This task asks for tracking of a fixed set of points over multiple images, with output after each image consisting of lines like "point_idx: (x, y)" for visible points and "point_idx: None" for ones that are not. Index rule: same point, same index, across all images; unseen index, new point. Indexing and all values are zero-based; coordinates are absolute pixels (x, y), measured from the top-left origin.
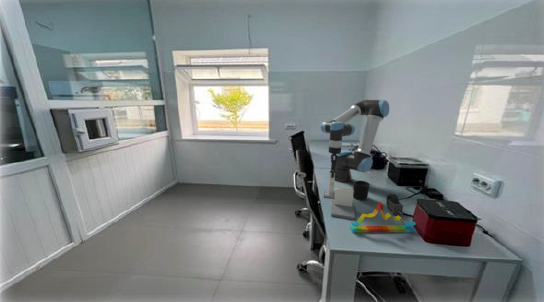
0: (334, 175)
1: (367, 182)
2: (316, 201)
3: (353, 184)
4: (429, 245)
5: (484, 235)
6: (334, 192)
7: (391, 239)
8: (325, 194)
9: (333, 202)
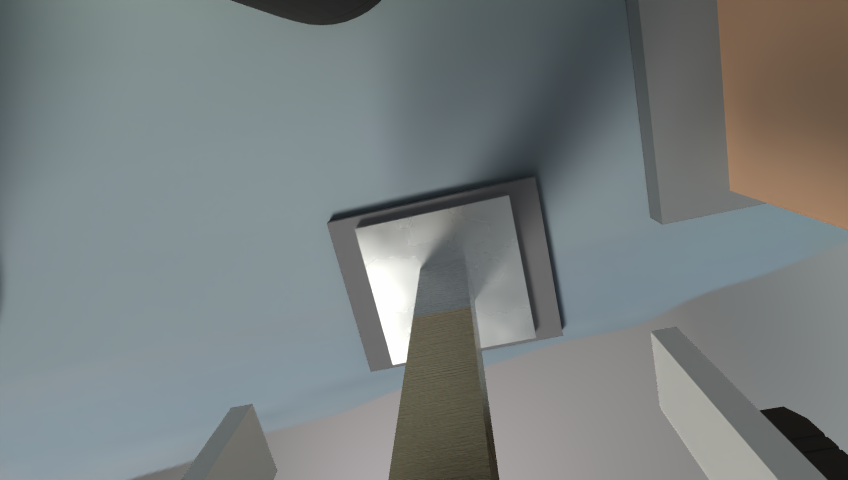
0: (773, 435)
1: None
2: None
3: (284, 2)
4: None
5: None
6: (401, 255)
7: None
8: (517, 332)
9: (716, 197)
